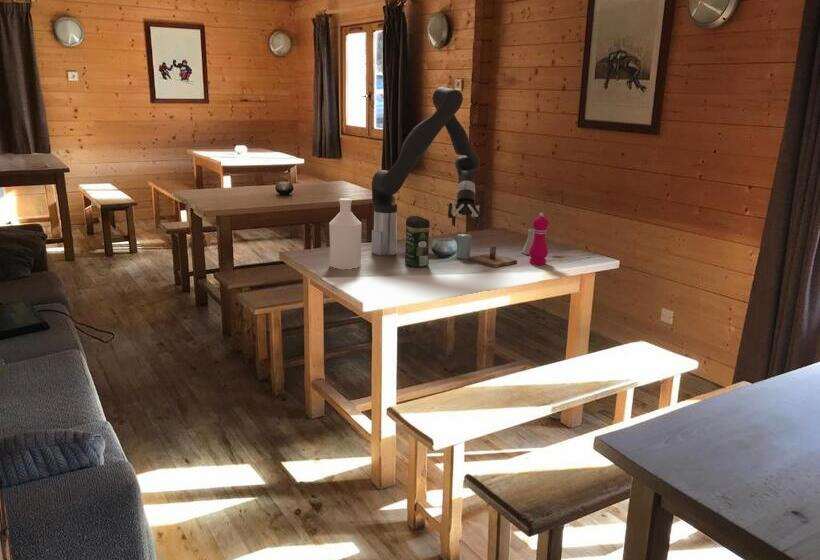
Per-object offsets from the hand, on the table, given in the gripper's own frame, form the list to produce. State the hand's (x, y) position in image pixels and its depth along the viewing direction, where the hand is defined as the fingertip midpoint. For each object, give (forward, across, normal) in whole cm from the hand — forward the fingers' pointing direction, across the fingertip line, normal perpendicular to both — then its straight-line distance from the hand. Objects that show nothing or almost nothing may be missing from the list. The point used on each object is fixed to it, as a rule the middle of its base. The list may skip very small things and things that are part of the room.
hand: (464, 225), depth 275 cm
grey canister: (+13, 0, +3) cm, 14 cm away
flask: (+5, +28, +12) cm, 30 cm away
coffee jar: (+25, -18, -8) cm, 32 cm away
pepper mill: (+17, +29, -1) cm, 34 cm away
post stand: (+17, +11, -1) cm, 21 cm away
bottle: (+29, -44, -13) cm, 54 cm away
